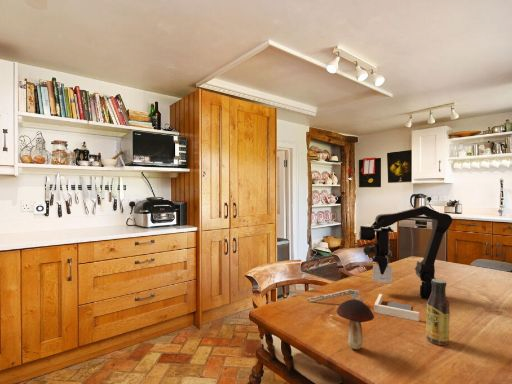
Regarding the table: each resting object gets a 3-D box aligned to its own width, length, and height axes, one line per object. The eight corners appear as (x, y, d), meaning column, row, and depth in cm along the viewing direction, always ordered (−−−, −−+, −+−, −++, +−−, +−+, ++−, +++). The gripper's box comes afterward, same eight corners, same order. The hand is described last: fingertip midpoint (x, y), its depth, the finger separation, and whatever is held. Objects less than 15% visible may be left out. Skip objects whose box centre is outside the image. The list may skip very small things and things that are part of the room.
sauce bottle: (421, 336, 94) (421, 277, 94) (439, 336, 94) (439, 276, 95) (435, 347, 87) (435, 283, 87) (454, 346, 88) (454, 283, 88)
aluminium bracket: (391, 279, 133) (391, 266, 133) (390, 283, 128) (390, 269, 128) (373, 277, 137) (373, 263, 137) (371, 280, 132) (371, 266, 132)
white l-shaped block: (419, 307, 118) (419, 300, 118) (418, 321, 105) (418, 313, 105) (379, 300, 126) (379, 293, 126) (374, 312, 113) (374, 304, 113)
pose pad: (411, 306, 119) (411, 305, 119) (410, 316, 109) (410, 315, 109) (388, 302, 124) (388, 301, 124) (384, 311, 114) (384, 310, 114)
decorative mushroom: (381, 350, 86) (381, 301, 86) (359, 363, 79) (359, 309, 79) (350, 335, 95) (350, 291, 95) (328, 346, 88) (328, 298, 88)
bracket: (363, 302, 118) (352, 280, 119) (317, 321, 122) (306, 299, 123) (362, 299, 122) (351, 278, 122) (317, 317, 125) (307, 297, 126)
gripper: (368, 237, 147) (368, 267, 147) (360, 242, 131) (360, 276, 131) (391, 238, 141) (391, 270, 141) (387, 244, 125) (387, 280, 125)
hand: (382, 273), depth 134 cm, fingers closed on aluminium bracket
